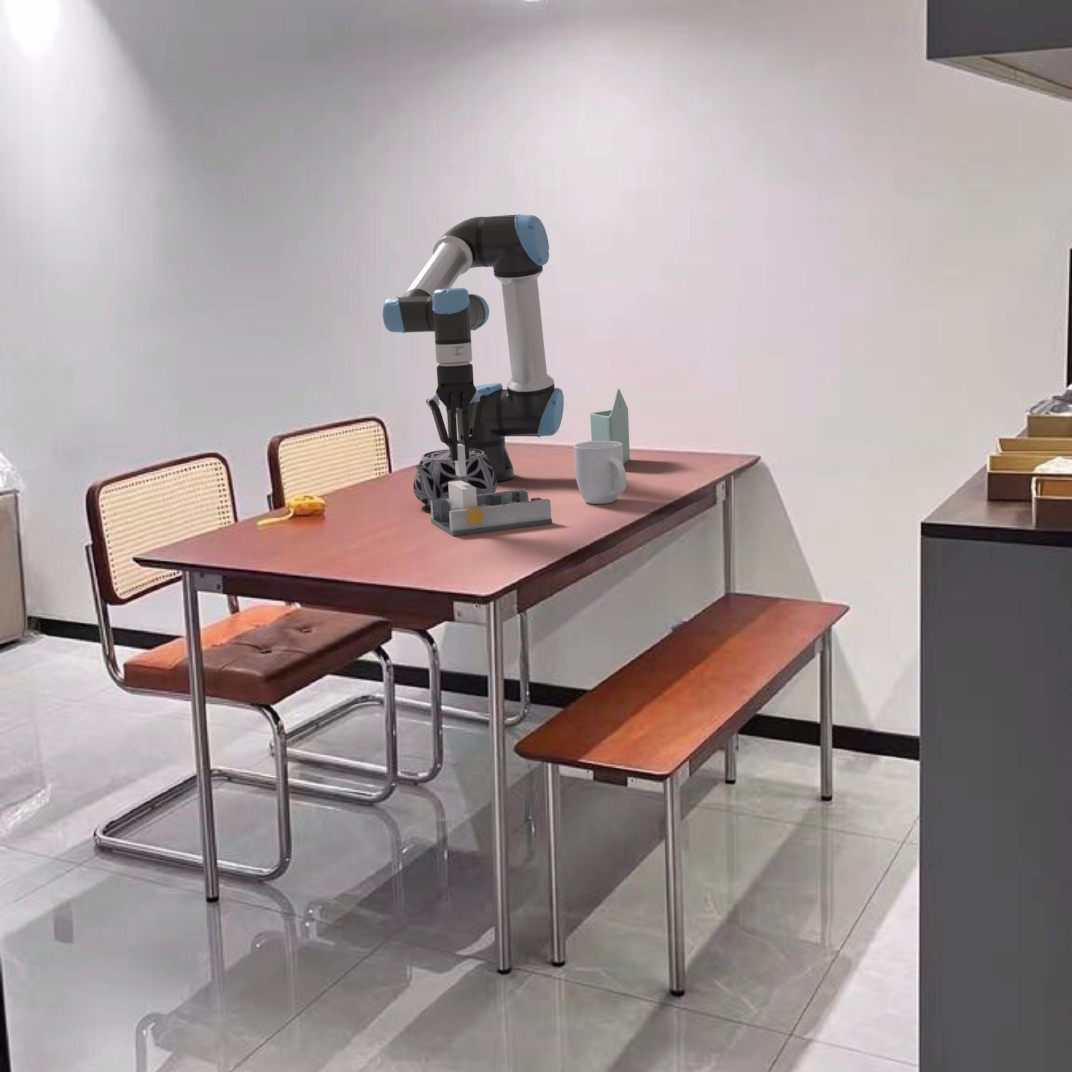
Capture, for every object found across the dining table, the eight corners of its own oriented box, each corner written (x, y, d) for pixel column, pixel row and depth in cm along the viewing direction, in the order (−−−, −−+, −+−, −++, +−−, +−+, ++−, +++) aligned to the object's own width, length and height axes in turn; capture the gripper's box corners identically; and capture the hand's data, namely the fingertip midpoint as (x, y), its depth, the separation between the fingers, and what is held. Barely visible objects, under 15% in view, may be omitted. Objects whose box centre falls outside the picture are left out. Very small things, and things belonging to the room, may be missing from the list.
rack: (431, 522, 320) (429, 498, 319) (526, 510, 327) (524, 487, 326) (453, 536, 305) (451, 511, 304) (552, 523, 312) (551, 499, 311)
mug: (644, 503, 328) (643, 445, 326) (605, 511, 323) (602, 452, 320) (605, 494, 341) (603, 438, 338) (566, 501, 335) (563, 444, 332)
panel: (450, 518, 318) (448, 482, 316) (463, 516, 319) (461, 480, 317) (464, 527, 309) (462, 489, 307) (478, 525, 310) (476, 487, 308)
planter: (601, 459, 388) (598, 384, 384) (630, 459, 385) (627, 384, 381) (583, 470, 373) (580, 393, 368) (613, 471, 370) (610, 392, 366)
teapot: (382, 517, 328) (377, 450, 325) (451, 491, 354) (448, 429, 351) (456, 521, 319) (452, 453, 316) (521, 494, 346) (518, 431, 343)
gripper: (429, 367, 301) (436, 481, 306) (489, 362, 305) (496, 474, 310) (419, 364, 308) (426, 476, 313) (478, 359, 312) (484, 469, 317)
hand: (461, 475), depth 312 cm, fingers closed
